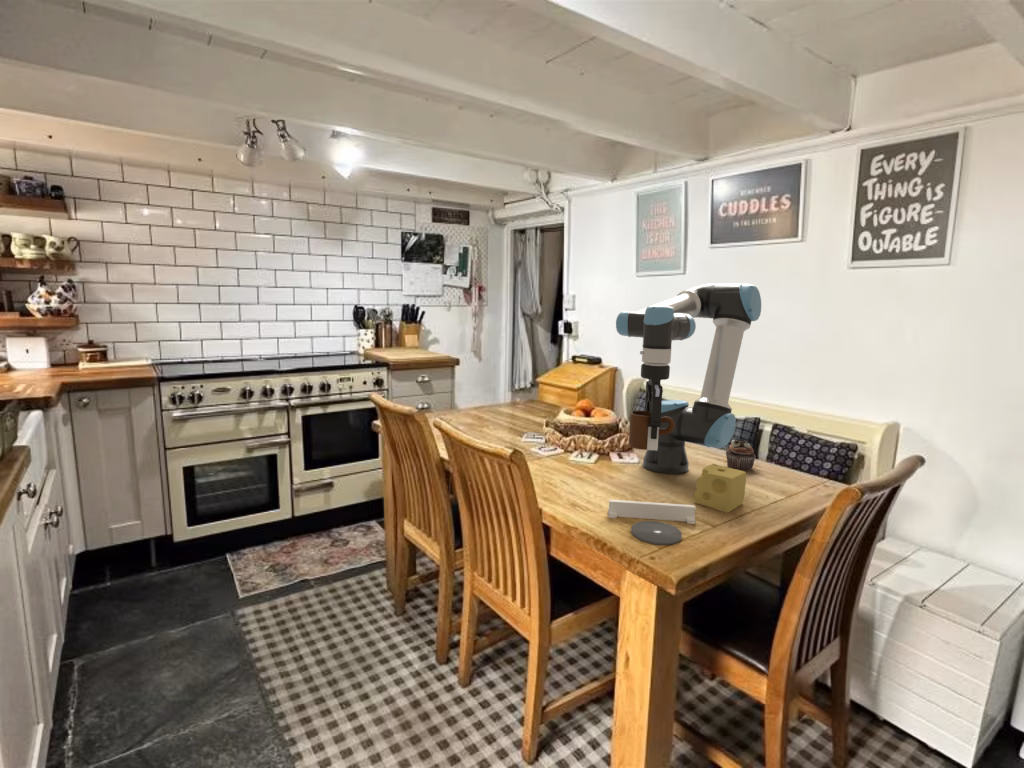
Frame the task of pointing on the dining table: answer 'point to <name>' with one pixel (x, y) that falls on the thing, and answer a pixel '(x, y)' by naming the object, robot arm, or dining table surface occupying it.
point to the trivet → (656, 532)
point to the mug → (644, 428)
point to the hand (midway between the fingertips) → (650, 445)
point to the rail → (651, 510)
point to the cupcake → (740, 455)
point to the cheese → (720, 488)
